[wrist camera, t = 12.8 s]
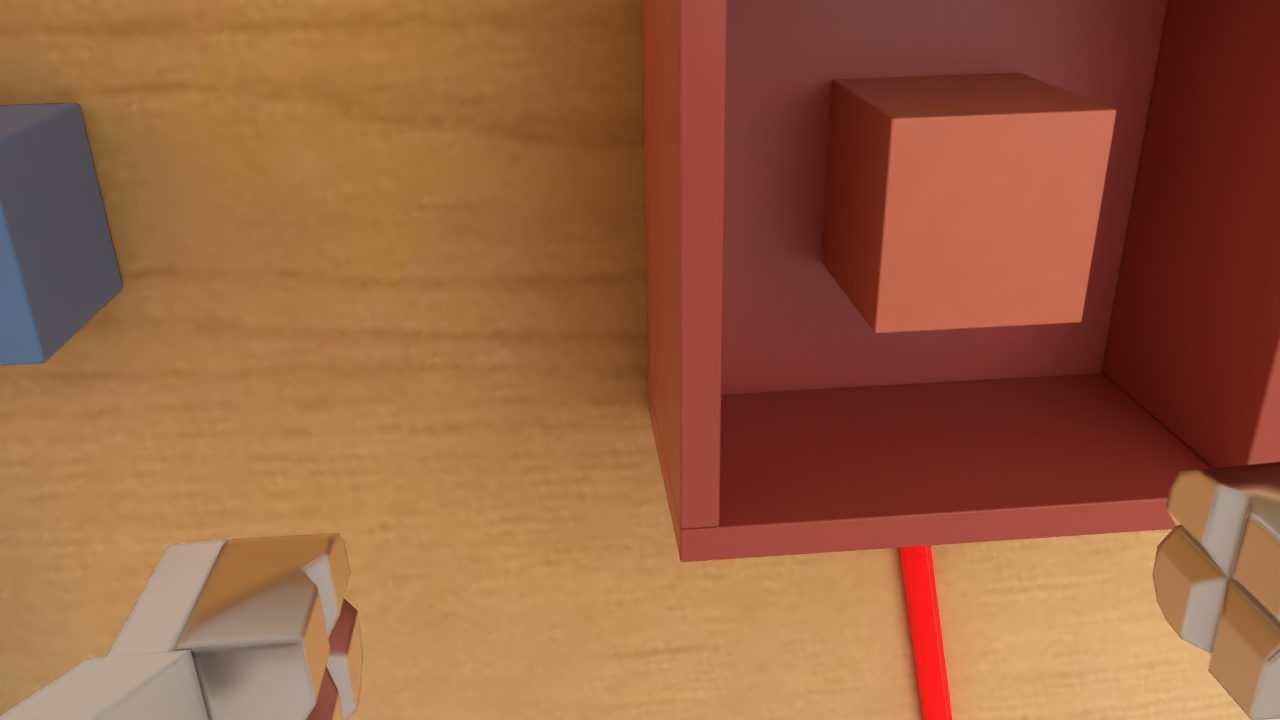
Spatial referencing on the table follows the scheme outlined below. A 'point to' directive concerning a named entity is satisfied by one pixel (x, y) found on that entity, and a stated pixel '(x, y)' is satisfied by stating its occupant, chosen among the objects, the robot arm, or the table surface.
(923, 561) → the pen
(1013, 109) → the terracotta block
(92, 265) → the blue block
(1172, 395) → the red bin
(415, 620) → the table surface
